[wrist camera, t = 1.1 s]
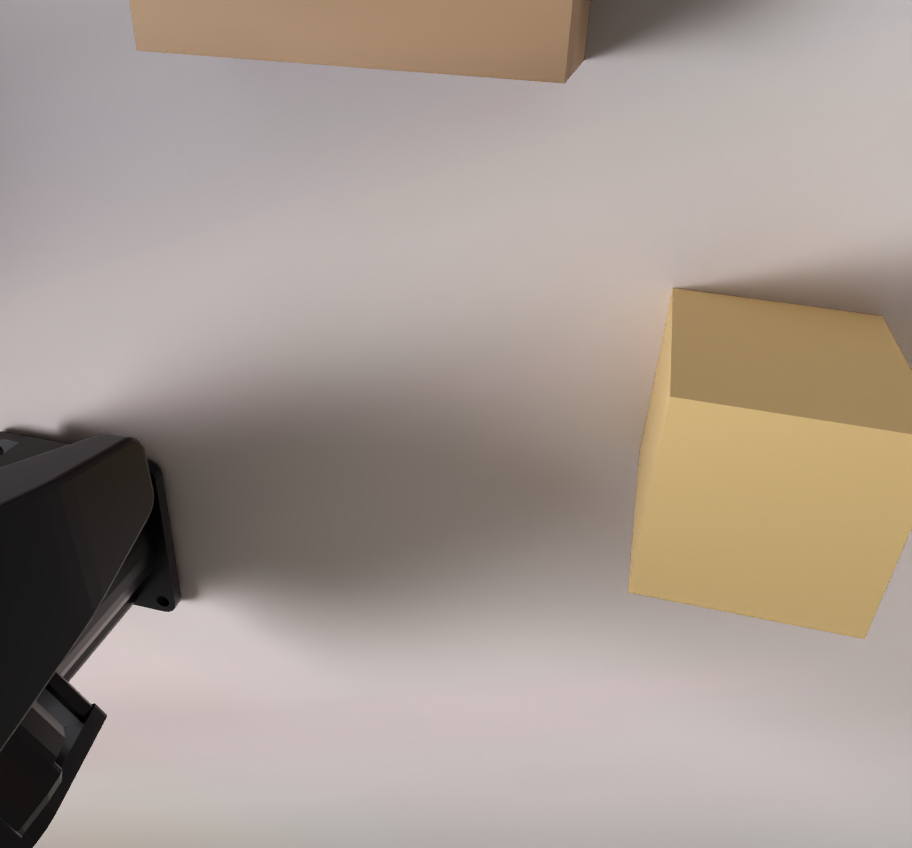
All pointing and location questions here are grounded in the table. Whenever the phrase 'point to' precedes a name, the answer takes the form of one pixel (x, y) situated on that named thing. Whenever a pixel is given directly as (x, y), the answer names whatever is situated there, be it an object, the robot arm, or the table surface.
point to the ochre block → (774, 463)
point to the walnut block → (377, 34)
